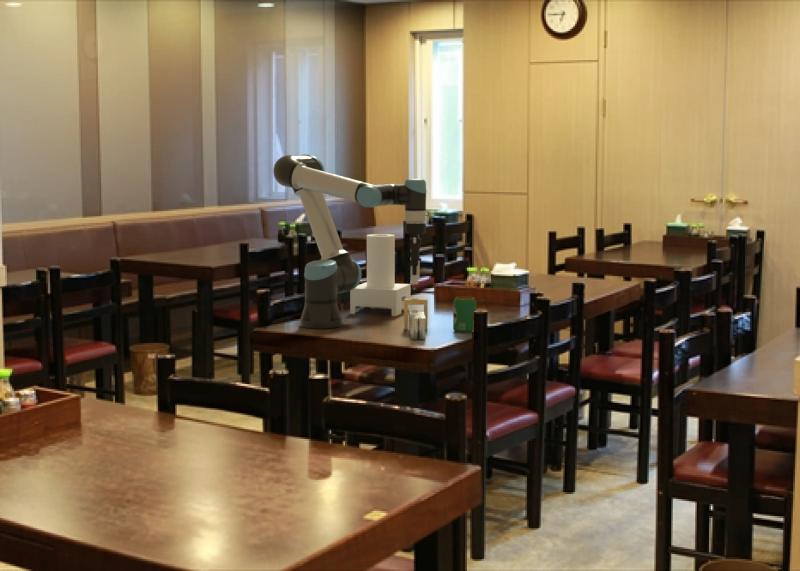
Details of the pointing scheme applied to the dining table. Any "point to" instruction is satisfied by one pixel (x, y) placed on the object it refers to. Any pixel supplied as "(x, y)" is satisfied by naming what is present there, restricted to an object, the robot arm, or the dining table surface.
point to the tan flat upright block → (414, 302)
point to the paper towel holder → (380, 278)
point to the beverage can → (463, 314)
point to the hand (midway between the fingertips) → (415, 281)
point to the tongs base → (416, 310)
